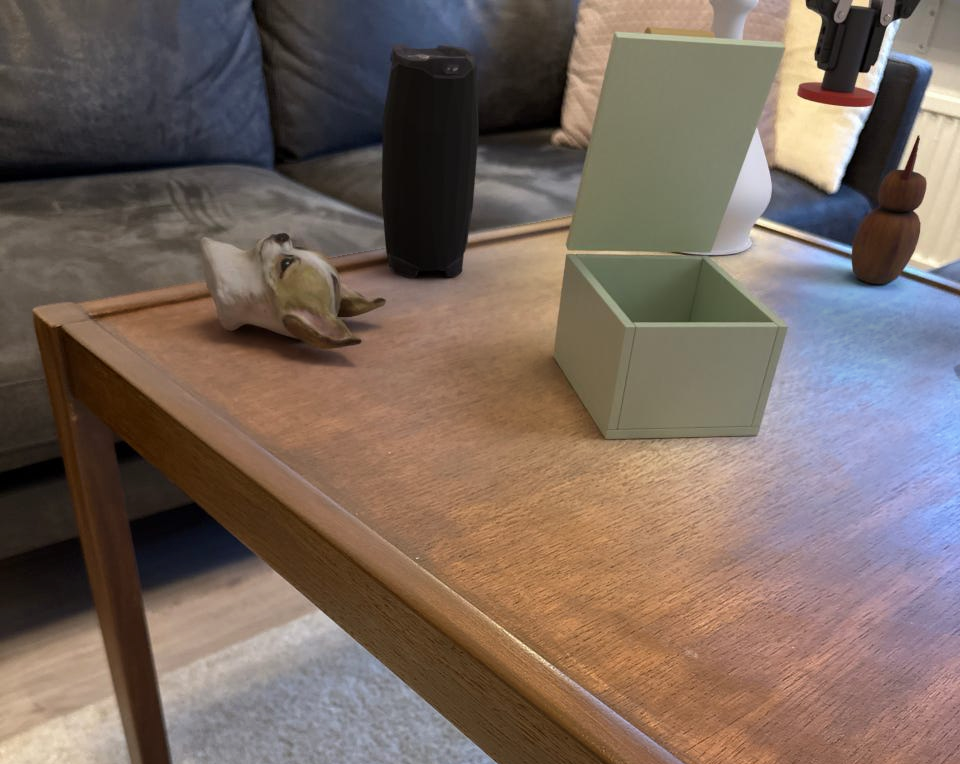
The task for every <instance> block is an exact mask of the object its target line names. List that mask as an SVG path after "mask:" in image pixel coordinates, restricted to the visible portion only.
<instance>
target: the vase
mask: <svg viewBox="0 0 960 764" xmlns="http://www.w3.org/2000/svg"><path fill="white" fill-rule="evenodd" d="M759 1H760V0H708V2H709V4H710V6H711V7H712V10H713V18H712V23H711V28H710V31H712V32H713V33H714V36H715V38H724V39H740V40H743V36H744V29H745V24H746V19H747V17H748V15H749V14H750V12H752V11H753V10H754V9H755V8H756V7H757V6H758V5H759ZM772 185H773V184H772V177H771V173H770V168H769V164H768V160H767V156H766V153H765V149H764V147H763V142H762V139H761V136H760V132H759V128H758V127H757V128H756V130H755V133H754V136H753V139H752V141H751V144H750V147H749V150H748V152H747V155H746V158H745V160H744V163H743V166H742V169H741V171H740V174H739V177H738V180H737V182H736V185H735V188H734V190H733V193H732V196H731V199H730V201H729V204H728V207H727V210H726V212H725V215H724V218H723V220H722V223H721V226H720V229H719V231H718V234H717V237H716V240H715V242H714V245H713V248H712V251H711V252H710V253H708V252H680V253H681V254H688V255H698V256H725V255H726V256H727V255H732V254H733V255H734V254H738V253H742V252H744V251H746V250H749V249H750V248H751V246H752V239H751V238H750V233H751V231H752V229H753V228H754V226H755V224H756V223H757V221H758V220H759V219H760V218H761V216H762V215H763V214H764V212H765V211H766V209H767V208H768V206H769V204H770V202H771V199H772V198H771V197H772V193H773V192H772V191H773V186H772Z"/></svg>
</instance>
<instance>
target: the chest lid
mask: <svg viewBox="0 0 960 764" xmlns="http://www.w3.org/2000/svg"><path fill="white" fill-rule="evenodd" d="M785 51H786V45H785V44H784V43H783V41H770V40H769V41H768V40H755V39H742V40H740V39H724V38H715V36H714V33H713V32H712V31H711V30H700V29H688V28H687V29H686V28H685V29H684V28H670V27H669V28H668V27H655V26H647V27H646V28H645V30H644V32H628V31H614V32H613V36H612V41H611V44H610V50H609V55H608V58H607V62H606V66H605V71H604V76H603V80H602V84H601V88H600V93H599V96H598V97H599V98H598V102H597V107H596V111H595V116H594V119H593V124H592V128H591V133H590V136H589V141H588V146H587V149H586V155H585V158H584V163H583V167H582V172H581V176H580V181H579V186H578V190H577V193H576V198H575V202H574V207H573V212H572V216H571V220H570V225H569V229H568V232H567V237H566V243H565V247H566V250H567V251H577V252H579V251H583V252H585V251H586V252H642V253H646V252H647V253H648V252H649V253H650V252H652V253H681V252H708V253H710V252H711V251H712V248H713V245H714V242H715V240H716V237H717V234H718V231H719V229H720V226H721V223H722V220H723V218H724V215H725V212H726V210H727V207H728V204H729V201H730V199H731V196H732V193H733V190H734V188H735V185H736V182H737V180H738V177H739V174H740V171H741V169H742V166H743V163H744V160H745V158H746V155H747V152H748V150H749V147H750V144H751V141H752V139H753V136H754V133H755V130H756V128H758V125H759V123H760V119H761V117H762V114H763V111H764V109H765V106H766V102H767V100H768V98H769V95H770V92H771V89H772V86H773V84H774V82H775V79H776V75H777V73H778V71H779V67H780V65H781V62H782V59H783V56H784V53H785Z"/></svg>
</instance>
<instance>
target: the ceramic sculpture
mask: <svg viewBox="0 0 960 764" xmlns="http://www.w3.org/2000/svg"><path fill="white" fill-rule="evenodd" d="M200 250H201V256H202V264H203V265H202V266H203V275H204V278H205V284H206V288H207V290H208V292H209V294H210V296H211V298H212V300H213V302H214V305H215V308H216V309H215V311H216V314H217V318H218V321H219V322H220V324H221V326H222V327H223V328H224V329H225V330H227V331H232V332H233V331H236V330H237V329H239V328H240V327H243V326H245V325H252V326H256V327H259V328H263V329H266V330H269V331H271V332H274V333H276V334H279V335H282V336H285V337H289V338H292V339H296V340H299V341H300V340H301V341H302V342H304V343H306V344H307V345H309V346H310V347H313V348H315V349H322V350H329V349H330V350H331V349H333V350H334V349H340V348H346V347H351V346H352V347H353V346H358V345H360V344H362V342H363V339H361V338H360V337H358V336H356V335H355V334H353V332H351V330H350V329H349V327H347V325H346V323H345V321H343V320H342V318H354V317H357V316H360V315H363V314H366V313H369V312H372V311H374V310H377V309H379V308H381V307H383V306H385V305H386V304H387V299H386V298H383V297H379V296H378V297H372V298H368V297H367V298H366V297H365V296H363V295H362V294H361V293H359V292H356V291H352V289H351V288H350V287H349V286H348V285H346V284H345V283H342V282H341V277H340V275H339V272H338V270H337V269H336V267H335V265H334V264H333V263H332V262H331V260H330V259H329V258H327V256H325V254H324V253H322V252H320V251H318V250H315V249H313V250H312V249H309V248H308V247H303V246H294V245H293V241H292V240H291V237H290V235H289V234H288V232H287V233H286V232H281V233H272V234H270V235H269V236H268V237H264V238H261V239H260V240H259V241H258V242H257V243H256V245H255V246H254V248H252V249H251V250H243V249H241V248H238V247H236V246H234V245H233V244H231V243H226V242H223V241H218V240H214V239H212V238H210V237H206V236H203V237H202V238H201V239H200ZM340 318H341V319H340Z"/></svg>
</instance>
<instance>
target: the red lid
mask: <svg viewBox="0 0 960 764" xmlns="http://www.w3.org/2000/svg"><path fill="white" fill-rule="evenodd" d="M875 12H876V9H873V8H869V7H868V6H861V5H852V4H851V7H850V9H849V12H848V14H847V17H846V19H845V20H844V21H843V22H842V24H845V25H846V26H845V29H844V33H843V37H842V41H841V45H840V49H839V52H838V56H837V60H836V64H835V67H834V69H833V71H824V74H823V77H822V82H817V81H816V82H815V81H812V82H811V81H810V82H802V83H799V85H798V88H797V92H796V95H797V97H799V98H801V99H804V100H806V101H810V102H814V103H817V104H824V105H828V106H836V107H846V108H867V107H871V106H873V105H874V102H875V98H876V93H874V92H873V91H871V90H868V89H865V88H861V87H858V86H856V85H857V81H858V78H859V74H860V73H859V70H860V67H861V63H862V59H863V56H864V52H865V48H866V45H867V41H868V37H869V34H870V30H871V26H872V23H873V19H874V16H875Z"/></svg>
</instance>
